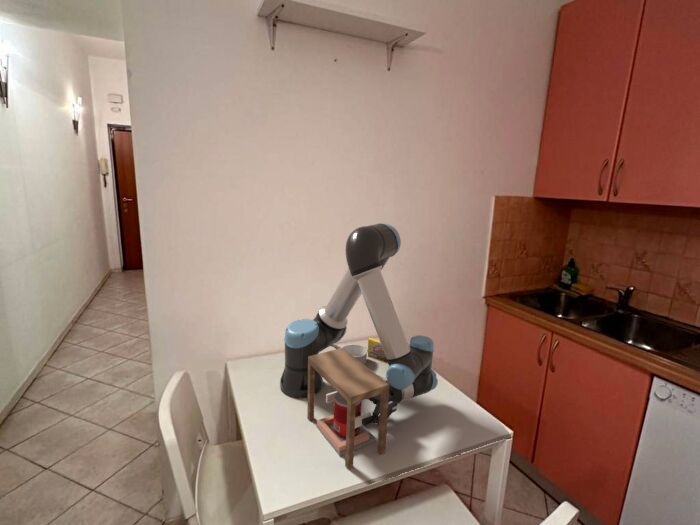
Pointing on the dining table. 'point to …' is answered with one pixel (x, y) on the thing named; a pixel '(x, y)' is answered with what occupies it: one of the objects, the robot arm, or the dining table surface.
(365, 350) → the saucepan
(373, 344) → the candy box
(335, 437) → the seat
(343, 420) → the canned food
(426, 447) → the dining table surface
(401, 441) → the dining table surface
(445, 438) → the dining table surface
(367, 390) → the bench
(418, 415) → the dining table surface
